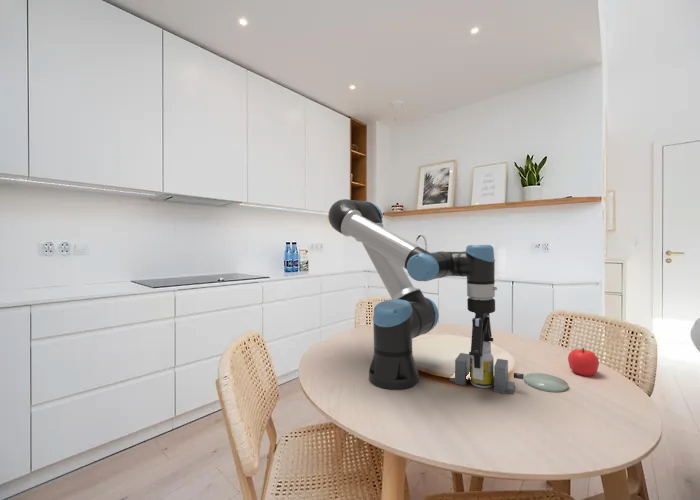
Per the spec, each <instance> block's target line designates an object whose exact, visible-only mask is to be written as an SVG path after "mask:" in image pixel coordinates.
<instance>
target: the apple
mask: <svg viewBox="0 0 700 500" xmlns="http://www.w3.org/2000/svg"><path fill="white" fill-rule="evenodd" d="M567 356H568V357H567V361H568V362H567V363H568V364H569V365H568V366H569V369H571V370H572V371H573V372H574V373H575V374H576V375H579V376H584V377H591V376H594V375H595V374H596V373H598V368H599V364H600V362H599V358H598V357H597V355H596V354H595V353H594V352H593V351H591V350H586V349H585V347H582V348H581V349H579V348H575V349H573V350H571V351H570V352H569V354H568V355H567Z"/></svg>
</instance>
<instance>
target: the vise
mask: <svg viewBox="0 0 700 500" xmlns="http://www.w3.org/2000/svg"><path fill="white" fill-rule="evenodd" d="M454 371H455V378H450V377H449V381H450V382H453V383H455V385H460V386H466V385H467V383H468V381H469V380H467V379H466V376H467V375H468V374H469V372H470V355H469V353H464V352H460V353H459V354H458V356H457V357H456V358H455V360H454ZM524 376H525V375H524V374H523V373H517V372H513V379H518V380H522V381H524ZM515 387H516V386H515V382H514V381H509V360H508V359H503V358H497V359H496V361H495V363H494V373H493V390H494V391H493V392H494V393H495V392H496V393H500V394H504V395H505V394H506V393H509V394H514V391H515Z"/></svg>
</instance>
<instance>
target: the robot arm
mask: <svg viewBox="0 0 700 500" xmlns="http://www.w3.org/2000/svg"><path fill="white" fill-rule="evenodd" d="M383 218H384V217H383V212H382V210H381V208H380V207H379V206H378V205H377V204H376V203H373V202H371V201H366V200H353V199H346V198H345V199H338V200H337V201H335V202H334V203H333V204H332V205H331V207H330V208H329V210H328V222H329V224H330V225H331V228H333V229H334V230H335V231H336V232H338V233H339V234H341V235H343V236H345V237H352V238H354V239H355V241H356V242H359V243H361V244H362V245H363V247H364V250H365V251H366V252H367V255H368V257H369V258H370V261H371V262H372V264H373V266H374V268H375V270H376V271H377V274H378V276H379V278H380V279H381V281H382V284H383V285H384V287H385V289H386V290H387V292H388V294H389V296H390V297H391V299H390V300H384V301H381V302H378V303H377V304H375V306H374V308H373V317H372V322H373V323H372V324H373V349H374V351H373V356H372V359H371V362H370V366H369V368H368V380H369V382H370V383H371V384H373V385H374V386H377V387H380V388H383V389H387V390H403V389H408V388H411V387H414V386H415V385H417V384H418V382H419V370H418V366H417V364H416V361H415V357H414V355H413V354H414V353H413V339H415V338H417V337H419V336H422V335H425V334H428V333H429V332H430V331H431V330H433V329H435V328H436V326H437V324H438V321H439V316H440V315H439V314H440V313H439V309H438V306H437V305H436V303H435V302H434V301H433V300H432V299H430V298H428V297H425V295H424V293H423V292H422V290H421V289H420V288H417V287H414V285H413V284H412V281H411V280H410V278H412V279H413V280H414V281H417V282H429V281H432V280H436V279H441V278H446V277H466V296H467V299H466V301H467V310H468V311H469V312H471V313H475V314H474V315H475V316H474V317H472V319H471V321H472V327H471V328H472V330H471V339H470V341H471V343H470V344H471V345H470V351H468V354H469V355H472V366H473V378H474V379H479V380H483V379H484V371H483V355H482V351H483V343H487V344H489V345H490V351H489V353H491V354H492V344H491V342H494V337H493V336H492V328H491V327H492V326H491V320H490V319H491V318H490V314H493V313H494V312H496V299H494V298H495V295H496V291H497V290H498V288H497V286H495V283H496V282H495V271H496V270H495V266H496V265H495V262H496V259H495V252H494V247H493V246H492V245H491V244H469V245H466V248H465V251H433V252H430V251H427V250H425V249H424V248H422V247H420V246H419V245H416V244H415V243H413V242H412V241H409V240H408V239H406V238H404V237H402V236H400V235H398V234H396V233H394V232H393V231H391V230H388V229H386V228H385V227H384V224H383V222H384V221H383ZM405 270H406V271H407V273H408V274H407V273H406V271H405ZM409 277H410V278H409ZM475 350H477V351H475Z"/></svg>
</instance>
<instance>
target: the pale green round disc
mask: <svg viewBox="0 0 700 500" xmlns="http://www.w3.org/2000/svg"><path fill="white" fill-rule="evenodd" d="M523 381H524V383H525V384H526V385H528V386H529V387H531V388H533V389H536V390H539V391H542V392H543V391H544V392H550V393H562V392H566V391H567V390H568V389H569V384H568V382H567V381H566V380H565V379H563V378H560V377H558V376H556V375H552V374H547V373H539V372H532V373H527V374H525V375H524V380H523Z"/></svg>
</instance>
